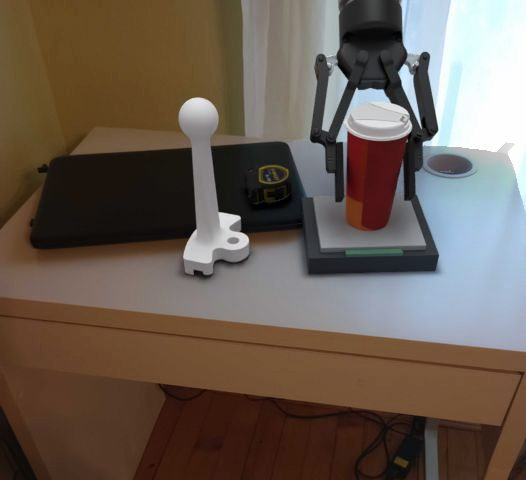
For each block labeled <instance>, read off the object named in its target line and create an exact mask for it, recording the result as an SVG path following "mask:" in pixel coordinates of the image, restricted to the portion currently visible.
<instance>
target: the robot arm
mask: <svg viewBox="0 0 526 480" xmlns="http://www.w3.org/2000/svg"><path fill="white" fill-rule="evenodd" d="M402 1H403V0H337V4H338V5H337V6H338V11H339V14H338V37H339V38H338V41H339V43H338V44H339V47H338V50H337V53H336V54H331V55H327V56H326V55H325V54H324V53H318V54H317V55H316V56H315V61H314V66H313V69H314V75H315V78H316V88H315V95H314V102H313V110H312V111H313V112H312V119H311V125H310V126H311V127H310V134H309V141H310V142H311V143H312V144H319V145H321V146H323V148H324V159H325V160H324V161H325V171H326V174H334V196H335V202H342V200H343V199H344V195H345V167H344V166H345V165H344V164H345V163H344V162H345V161H344V141H337V139H338V136H339V134H340V131H341V128H342V126H343V125H344V121H345V119H346V116H347V114H348V111H349V108H350V105H351V103H352V101H353V98H354V95H355V93H356V90H357V91H366V90H368V89H371V90H372V89H373V90H376V91H381V90H383V92H384V95H385V96H386V98H387V99H388V100H389V103H392V104H396V105H398V106H401V107H403V108H404V109H405V110H407V112H408V113H409V116H410V122H411V124H412V130H411V132H410V133H409V134H408V137H407V142H406V148H405V153H404V157H403V161H402V170H403V173H402V174H403V194H404V201H411V200H412V199H413V198H414V197H415V196H416V195H417V191H416V189H417V188H416V173H418V172H420V171H421V169H422V168H423V166H424V143H425V142H429V141H432V140H433V138H434V137H435V136H436V135H437V133H439V124H438V118H437V113H436V109H435V103H434V96H433V90H432V85H431V81H430V75H429V67H430V61H431V54H430V53H429V51H423V52H421V53H420V54H415V53H410V52H408V50H407V48H406V47H405V44H404V31H403V28H404V27H403V7H402ZM404 65H405V66H407V68H408V73H409V74H410V75H411V76H412V82H413V89H414V96H415V100H416V107H417V110H418V117H419V120H418V118H417V116H416V113H415V112H414V109H413V107H412V105H411V102H410V101H409V98H408V96H407V94H406V91H405V90H404V87H403V82H402V78H401V77H400V74H399V72H400V71H401V69H402V68H403V66H404ZM335 67H337V68H338V69H339V71H340V72H341V73H342V75H343V76H344V77H345V78H346V80H347V82H346V85H345V88H344V91H343V92H342V95H341V98H340V101H339V103H338V105H337V108H336V111H335V114H334V115H333V118H332V120H331V124H330V126H329V129H328V131H327V130H324V129H323V125H324V124H323V123H324V118H325V117H324V116H325V110H326V102H327V101H326V100H327V94H328V88H329V87H328V86H329V79H330V77H331V76H332V75H333V73H334V69H335ZM419 122H420V123H419Z"/></svg>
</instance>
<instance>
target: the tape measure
mask: <svg viewBox="0 0 526 480" xmlns="http://www.w3.org/2000/svg"><path fill="white" fill-rule="evenodd" d="M242 175H243V176H242V177H243V182H244V185H245V187H246V189H247V192H248V193H247V194H248V202H249V203H251V202H252V203H255V202H261V201H263V200H264V201H266V200H279V199H282V198H284V196H287V195H288V194H289V193H291V194H292V192H293V189H294V180H293V174H292V173H291V171H290V169H288V168H287V167H286V166H284V165H282V164H278V163H263V164H259V165H256V166H252V167H248V168H247V169H244V170H243V174H242ZM291 194H290V195H289V197H290V196H291ZM289 197H286V198H285V199H283V200H280V201H276V202H262V203H259V204H252V203H251V204H252V205H253V206H261V205H263V204H278V203H281V202H283V201H285V200H287V199H288V198H289Z"/></svg>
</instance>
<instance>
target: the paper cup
mask: <svg viewBox="0 0 526 480" xmlns="http://www.w3.org/2000/svg"><path fill="white" fill-rule="evenodd" d="M343 125H344V127H345V129H346V136H347V137H346V164H345V165H346V166H345V167H346V171H345V174H346V175H345V177H346V178H345V195H346V220H347V222H348V224H349V225H351V226H352V227H354V228H356V229H359V230H363V231H375V230H379V229H382V228H384V227H385V226H386V225H387V224H388V222H389V218H390V215H391V210H392V206H393V201H394V197H395V194H396V193H397V188H398V187H397V186H398V182H399V178H400V174H401V171H402V170H401V169H402V167H403V157H404V153H405V148H406V143H407V141H408V140H407V137H408V134H409V133H410V132H411V130H412V124H411V122H410V116H409V113H408V112H407V110H405V109H404V108H403V107H401V106H398V105H396V104H392V103H391V102H387V101H367V102H364V103H360V104H357V105H355V106H354V107H353V108H352V109H351V110H350V111H349V112H348V113H347V117H345V118H344V121H343Z"/></svg>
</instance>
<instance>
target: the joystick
mask: <svg viewBox="0 0 526 480" xmlns="http://www.w3.org/2000/svg"><path fill="white" fill-rule="evenodd" d="M178 125H179V128H180V129H181V131H182V132H183V134H184V135H186V137H187V138H188V139H189V141H190V144H191V145H190V146H191V157H192V175H193V188H194V189H193V190H194V207H195V208H194V209H195V225H196V229H195V230H194V231H193V232H192V234H191V235H190V237H189V239H188V241H187V242H186V245H185V247H184V251H183V256H182V257H183V265H184V272H185V273H186V274H188V275H192V276H194V275H195V271H199V272H202V275H205V276H209V275H213V273H214V264H215V262H216V261H219V260H223V261H226V262H228V263H238V262H241V261H243V260H245V259H247V257H248V256H249V255H250V239H249V236H248V235H247V234H245V233H243V232H241V231H242V219H241V216H240V215H237V214H233V213H227V212H220V211H219V205H218V198H217V197H218V196H217V189H216V180H215V171H214V164H213V154H212V145H211V138H212V136H213V135H214V134H215V132H216V131H217V129H218V126H219V113H218V110H217V108H216V106H215V104H213V103H212V102H211V101H210V100H208V99H207V98H203V97H192V98H190V99H188V100H186V101H185V102H184V103H183V104H182V106H181V107H180V108H179V112H178Z"/></svg>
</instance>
